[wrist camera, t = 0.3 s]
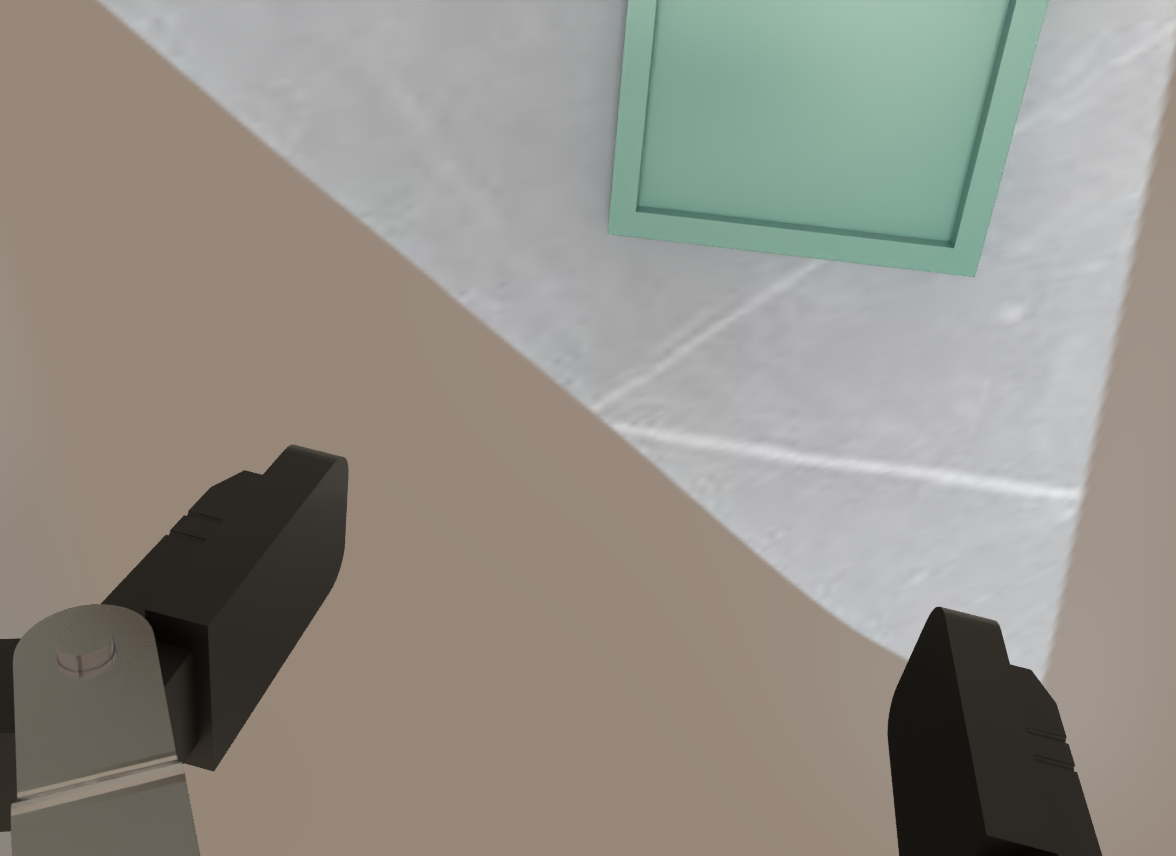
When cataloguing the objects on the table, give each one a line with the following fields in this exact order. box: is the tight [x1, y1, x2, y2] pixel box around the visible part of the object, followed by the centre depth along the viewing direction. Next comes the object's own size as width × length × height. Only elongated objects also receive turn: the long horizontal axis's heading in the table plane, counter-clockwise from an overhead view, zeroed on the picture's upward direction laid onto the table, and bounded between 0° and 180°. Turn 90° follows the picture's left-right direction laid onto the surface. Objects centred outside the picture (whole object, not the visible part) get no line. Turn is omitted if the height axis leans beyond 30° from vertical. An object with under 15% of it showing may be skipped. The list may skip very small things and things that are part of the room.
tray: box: [608, 0, 1048, 277], centre depth 36 cm, size 14×14×2 cm
